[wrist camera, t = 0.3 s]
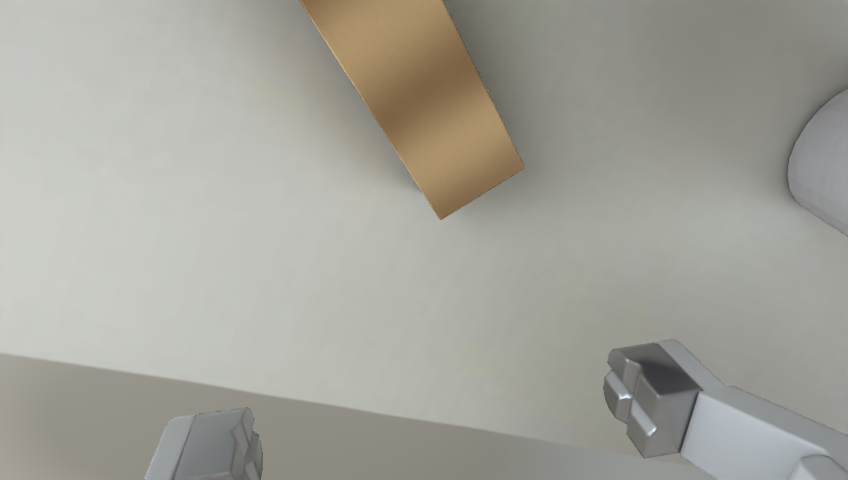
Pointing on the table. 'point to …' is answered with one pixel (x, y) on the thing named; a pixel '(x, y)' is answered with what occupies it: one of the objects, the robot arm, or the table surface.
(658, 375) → the robot arm
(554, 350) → the table surface
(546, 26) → the table surface
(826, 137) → the potted plant
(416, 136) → the eraser
